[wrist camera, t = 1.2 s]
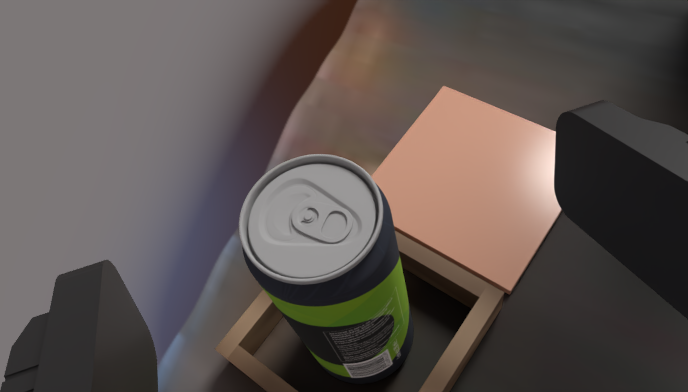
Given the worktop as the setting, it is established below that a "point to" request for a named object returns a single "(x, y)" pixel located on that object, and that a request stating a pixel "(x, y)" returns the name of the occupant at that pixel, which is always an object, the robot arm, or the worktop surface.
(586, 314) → the worktop surface
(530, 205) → the trivet
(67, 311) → the robot arm
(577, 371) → the worktop surface
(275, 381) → the wooden tray
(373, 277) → the beverage can
